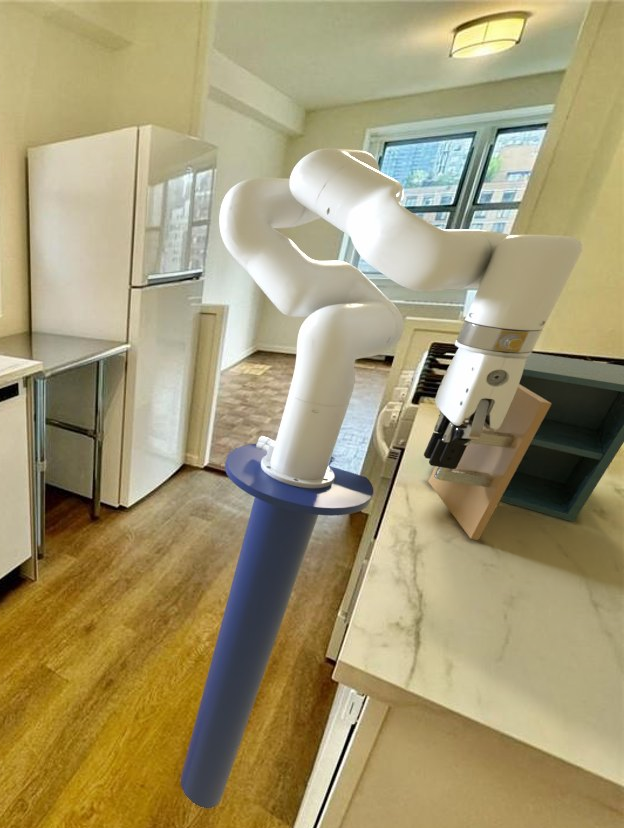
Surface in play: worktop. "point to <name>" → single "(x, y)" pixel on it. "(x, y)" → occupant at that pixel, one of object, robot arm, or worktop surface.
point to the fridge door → (489, 464)
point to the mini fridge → (569, 434)
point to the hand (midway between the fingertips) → (439, 461)
